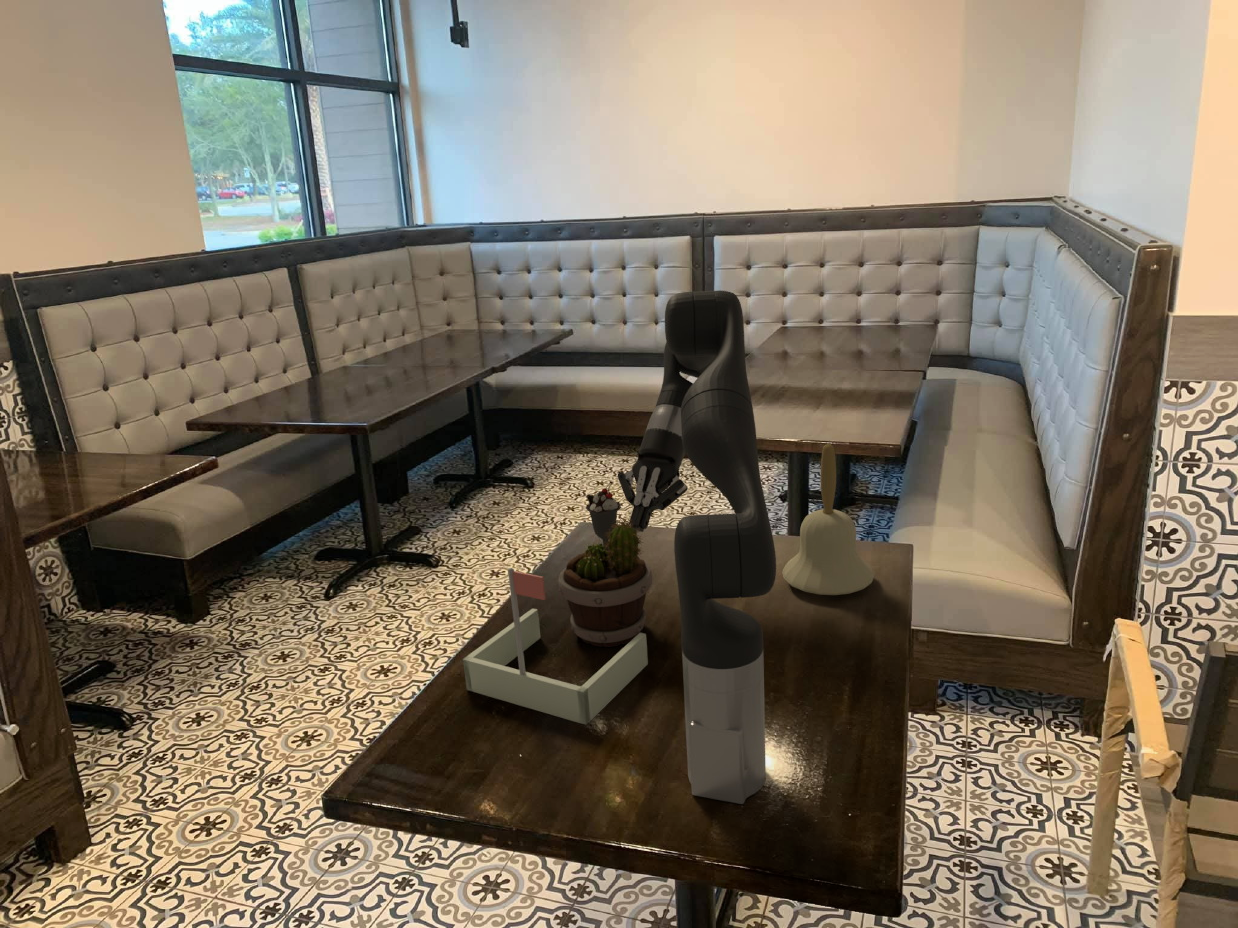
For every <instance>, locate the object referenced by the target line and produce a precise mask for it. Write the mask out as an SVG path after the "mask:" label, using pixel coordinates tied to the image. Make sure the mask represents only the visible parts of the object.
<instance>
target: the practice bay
mask: <svg viewBox="0 0 1238 928" xmlns="http://www.w3.org/2000/svg"><path fill="white" fill-rule="evenodd" d="M507 573H508V582H509V590H510V600H511V608H512V618H513V622H511V623H510V624H509V625H507V627H505V628H504V629H502V630H501V631H499V632H498V633H497V634H495V635H494V636H492V637H491V638H490V639H488V640H487V641H486V642H484V643H482V644H481V645H480V646H479V647H477V648H476V649H475V650H473V651H472V652H470V653H469V654H467V656H465V657H464V658H462V664H463V671H464V679H465V685H466V686H465V687H466V691H469V692H473V693H475V694H476V693H477V694H480V695H483V696H486V697H490V698H493V699H496V700H501V701H503V702H508V703H511V704H514V705H517V706H520V707H524V708H527V709H530V710H531V709H532V710H534V711H538V712H542V713H544V714H547V715H548V714H549V715H551V716H555V717H558V718H562V719H564V720H568V721H571V722H574V723H578V724H582V725H584V726H587V725H588V724H589V723H590V722H591V721H592V720H593V719H594V718H595V717H596V716H597V715H598V714H599V713H600V712H601V711H602V710H603V709H604V708H606V706H607V705H608V704H609V703H610V702H611V701H612V700H613V699H614V698H615V697H616V696H617V695H618V694H619V693H620V692H621V691H622V690H623V689H624V688H626V686H628V684H630V682H631V681H632V680H633V679H635V678H636V677H637V675H639V674H640V673H641V672H642V670H643V669H645V668H646V666H648V664H649V659H648V644H647V633H643V632H639V633H638V634H637V636H636V637H635V638H634V639H632V640H631V641H629V642H627V643H626V645H625V646H624V647H622V648H621V649H620V650H619V651H618V652H617V653H616V654H614V656H612V658H611V659H610V660H608V661H607V662H606V663H605V664H604V665H603V666H602V667H601V668H600V669H598V671H597V672H595V673H594V674H593V675H592V676H591V677H590V678H589V679H587V681H586V682H585V683H583V684H582V685H581V686H579V685H576V684H572V683H569V682H566V681H565V682H564V681H563V680H558V679H554V678H550V677H548V676H543V675H539V674H536V673H532V672H528V671H526V665H525V654H524V651H526V650H527V649H528V648H529V647H531V646H532V645H533V644H535V643H536V642H537V641H539V640H540V639H541V638H542V637H541V629H540V628H541V627H540V619H539V618H540V617H539V609H537V608H531V609H529V610H528V611H527V612H525V613H524V614H523V615H522V616H520V611H519V603H518V596H523V597H527V598H528V597H529V598H533V599H537V600H541V601H542V600H543V601H545V600H546V589H545V581H544V579H545V578H544V576H540V575H536V574H533V573H532V574H531V573H525V572H521V571H515V569H514V568H513V567H509V568H508V569H507ZM516 658H517V662H518V669H516V668H513V667H510V666H506V665H508V664H509V663H511V662H512V661H513V660H514V659H516Z"/></svg>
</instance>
